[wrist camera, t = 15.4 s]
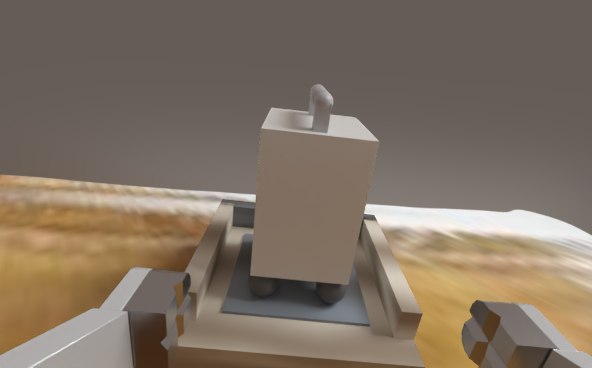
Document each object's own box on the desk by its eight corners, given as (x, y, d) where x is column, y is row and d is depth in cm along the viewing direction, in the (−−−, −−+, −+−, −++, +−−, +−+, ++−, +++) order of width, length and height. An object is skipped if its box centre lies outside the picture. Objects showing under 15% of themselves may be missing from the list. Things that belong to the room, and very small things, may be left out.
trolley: (346, 311, 20) (392, 102, 15) (244, 302, 20) (259, 86, 15) (333, 248, 27) (363, 88, 22) (257, 240, 26) (271, 77, 22)
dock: (411, 404, 18) (435, 339, 16) (165, 384, 18) (161, 315, 16) (363, 260, 31) (374, 215, 29) (221, 246, 31) (222, 199, 29)
